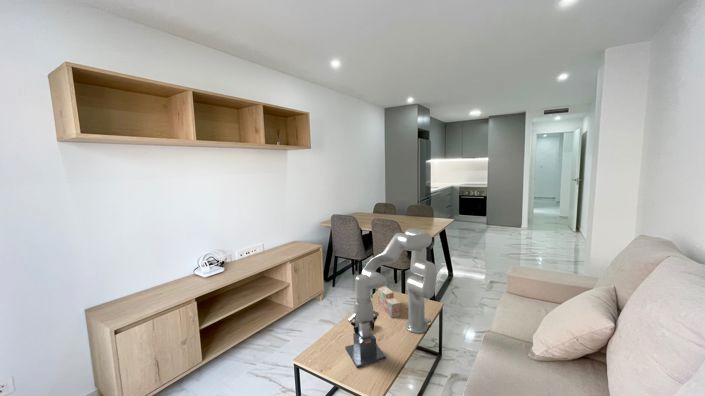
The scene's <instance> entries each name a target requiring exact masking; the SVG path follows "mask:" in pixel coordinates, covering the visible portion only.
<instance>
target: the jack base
mask: <svg viewBox="0 0 705 396" xmlns="http://www.w3.org/2000/svg"><path fill="white" fill-rule="evenodd" d="M369 332H370V338H367V339H363V340H362V339H361V338H360V335H359V332H358V335H357V334H356V333H355V332H354V333H352V334H353V336H352V337H353V343H352V344H349V345H347V346H345V350H346V352H347V354H348V355H349V357H350V359H351V360H352V362H353V363H354V366H355V368H356V369H359V368H363V367H365V366H368V365H371V364H374V363H377V362H381V361H384V360H387V356H386V354H385V353H384V351H382V350H381V348H380V347H379V345H378V344H377V337H376V336H375V335H374V334H373V333H372V331H371V329H369Z"/></svg>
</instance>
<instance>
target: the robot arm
mask: <svg viewBox="0 0 705 396" xmlns="http://www.w3.org/2000/svg"><path fill="white" fill-rule="evenodd" d="M432 242H433V238H432V235H431V234H430V233H429V232H426V231H422V230H418V229H413V228H410V229H406V230H405V231H404V232H396V233H395V234H394V235H393V237H392V238H391V240H390V241H389V243H388V244H387V245H386V247H385V249H384V250H383V251H382V252H381V253H379V254H377V255H376V256H374V257H372V258H371V259H370V260H369V261H368V262H367V263H366V265H365V266H364V267H363V269H362V271H361V273H360V274H358V275H356V276H355V279H354V281H355V282H354V283H355V301H354V304H353V308H352V309H353V313H352V315H351V316H350V317H349V318H348V322H349V323H350V325H352V326H353V332H354V333H356V334H357V335H358V327H357V326H358V324H359V323H361V322H365V321H369V320H371V321H370V327H369V329H370V330H371V331H374V330H375V323H376V321H377V319H378V317H379V315H380V313H379V312H378V311H376V310H374V305H373V301H372V299H373V298H374V296H373V295H372V294H371V290H373V289H378V288H380V287H384V286H385V285H386V277H385V276H384V275H383V274H382V273H380V272H378V271H377V269H378V268H380V267H381V266H384V265H389V264H393V263H396V261H397V260H398V258H399V257H400V256H401V254H402V252H403V251H409V252H411V258H410V268H409V269H410V272H411V273H412V274H413V275H410V276H409V277H407V279H406V281H405V283H406V284H405V288H406V291H407V312H408V313H407V315H408V317H407V318H408V321H407V322H406V323H405V328H406V330H407V331H408V332H410V333H413V334H423V333H425V332H427V330H428V324H431V323H432V319H431V318H427V317H425V315H426V314H425V299H431V298H433V296H434V295H435V292H436V285H437V276H438V269H437V266H436V265H435V264H434V263H433V262H431V261H429V260H427V248H428V247H430V245H431V244H432Z"/></svg>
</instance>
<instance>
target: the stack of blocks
mask: <svg viewBox="0 0 705 396" xmlns="http://www.w3.org/2000/svg"><path fill="white" fill-rule="evenodd" d="M377 292H378V293H377V295H378V296H377V297H378V305H379V306H380V307H381V308H382V309H383V310H384V311H385V312H386V313H387V314H388V316H389V317H390V318H391V319H392V318H393V319H394V318H397V317H401V302H400V301H398V299H396V297H395V296H394V292H393V291H392V290H391V289H390V288H389V287H387V285H383V286H382V287H380V288H377Z"/></svg>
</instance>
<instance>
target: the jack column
mask: <svg viewBox="0 0 705 396" xmlns="http://www.w3.org/2000/svg"><path fill="white" fill-rule="evenodd" d="M369 330H370V327H369V322H368V321H365V322H361V323H359V335H360V338H361V339H362V340H363V339H367V338H370V332H371V331H370V332H369Z"/></svg>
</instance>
